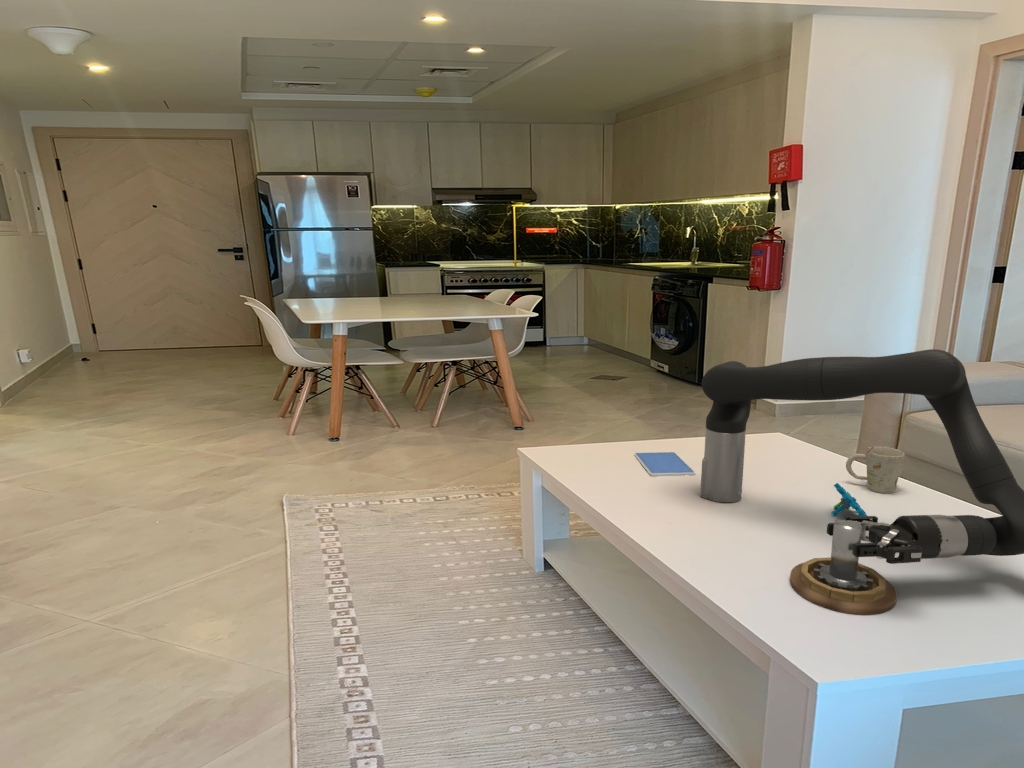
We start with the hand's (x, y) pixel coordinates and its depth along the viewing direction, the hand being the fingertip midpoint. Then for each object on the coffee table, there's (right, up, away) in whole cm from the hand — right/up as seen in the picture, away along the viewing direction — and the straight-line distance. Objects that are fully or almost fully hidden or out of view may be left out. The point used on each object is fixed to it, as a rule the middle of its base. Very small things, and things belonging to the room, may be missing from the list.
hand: (840, 539), depth 117 cm
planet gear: (+1, -8, +2) cm, 8 cm away
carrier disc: (+1, -9, +2) cm, 10 cm away
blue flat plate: (-15, +4, +71) cm, 72 cm away
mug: (+33, +1, +51) cm, 61 cm away
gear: (+19, -3, +34) cm, 39 cm away
